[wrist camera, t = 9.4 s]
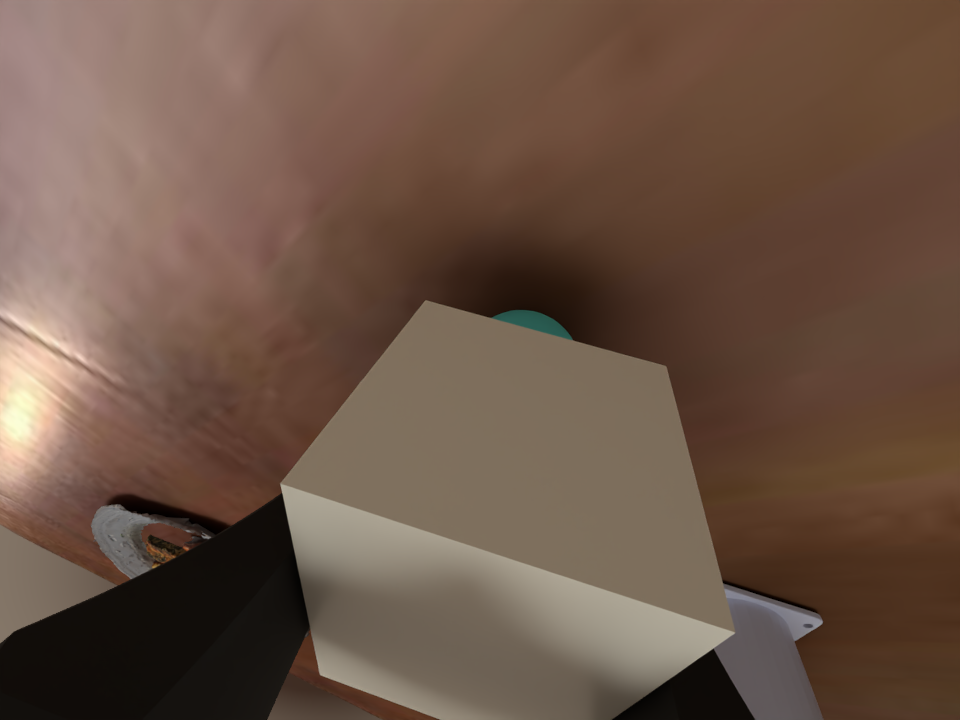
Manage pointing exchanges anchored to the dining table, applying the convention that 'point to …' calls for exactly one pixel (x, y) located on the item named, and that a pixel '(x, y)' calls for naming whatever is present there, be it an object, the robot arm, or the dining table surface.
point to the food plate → (125, 543)
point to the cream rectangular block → (505, 528)
